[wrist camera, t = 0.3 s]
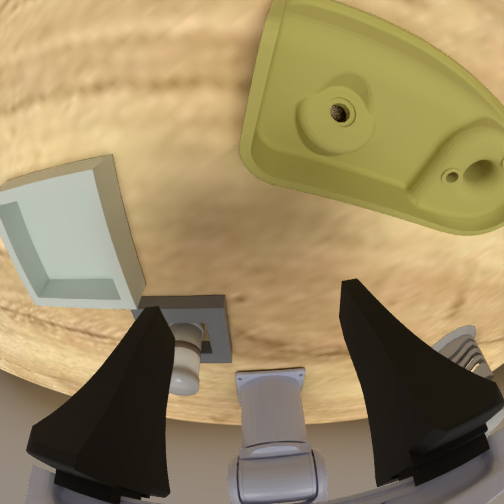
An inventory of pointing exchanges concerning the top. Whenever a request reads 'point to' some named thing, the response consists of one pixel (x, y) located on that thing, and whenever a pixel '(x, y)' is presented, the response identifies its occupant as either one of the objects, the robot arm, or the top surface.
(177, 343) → the cylinder
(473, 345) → the french press
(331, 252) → the top surface
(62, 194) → the parts tray
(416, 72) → the plastic component
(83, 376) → the top surface
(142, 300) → the gray square frame
